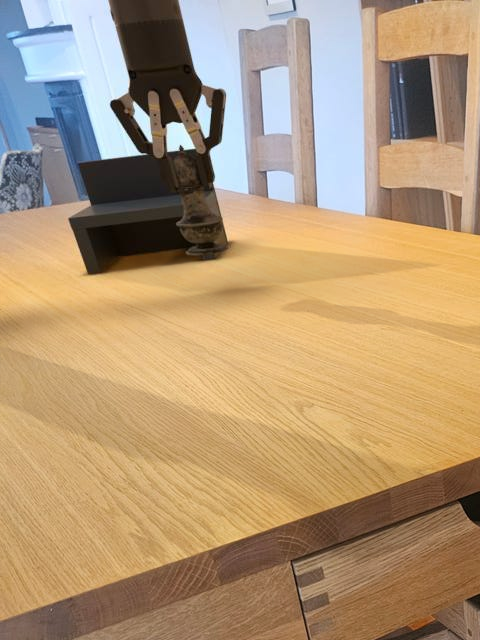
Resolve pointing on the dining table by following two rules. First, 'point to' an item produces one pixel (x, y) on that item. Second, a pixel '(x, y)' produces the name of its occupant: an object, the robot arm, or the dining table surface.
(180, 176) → the salt shaker
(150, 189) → the bench
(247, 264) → the dining table surface
